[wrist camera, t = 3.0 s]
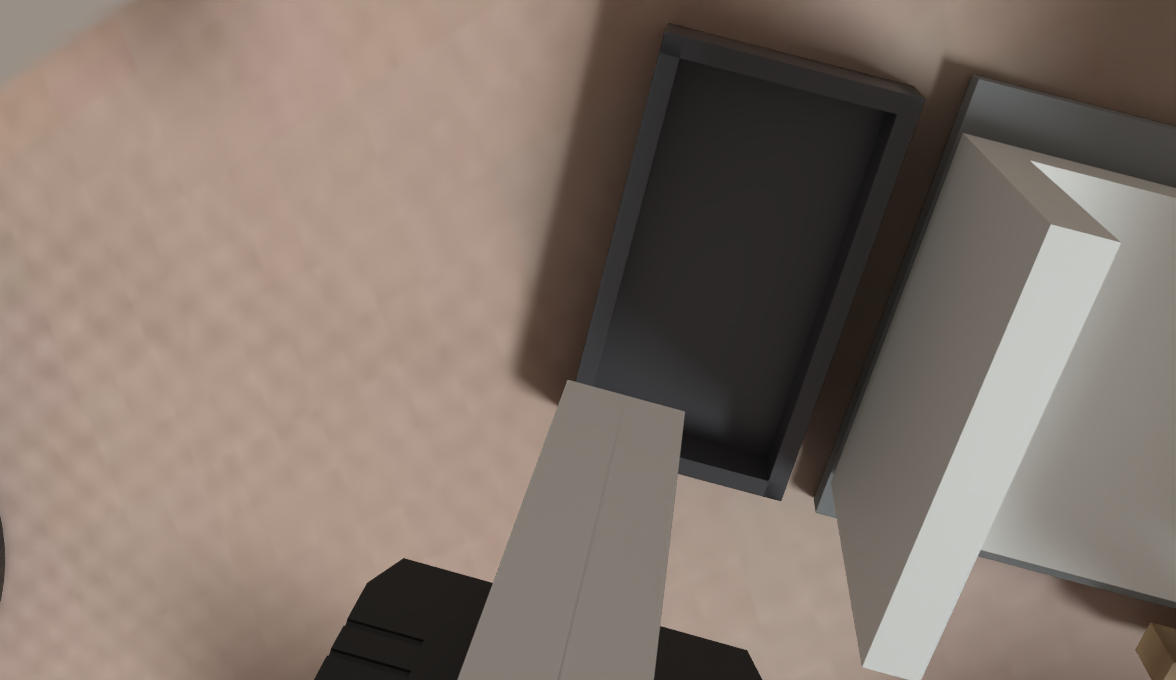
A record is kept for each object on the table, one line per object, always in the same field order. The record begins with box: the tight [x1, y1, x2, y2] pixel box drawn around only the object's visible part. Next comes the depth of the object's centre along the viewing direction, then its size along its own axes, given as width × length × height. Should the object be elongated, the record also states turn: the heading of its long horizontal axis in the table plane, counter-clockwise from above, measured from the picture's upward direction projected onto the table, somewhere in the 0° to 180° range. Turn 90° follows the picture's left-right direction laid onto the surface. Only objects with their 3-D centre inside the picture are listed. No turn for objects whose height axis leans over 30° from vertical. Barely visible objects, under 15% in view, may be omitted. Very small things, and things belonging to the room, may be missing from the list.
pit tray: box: [576, 23, 925, 501], centre depth 23 cm, size 5×9×1 cm, turn 167°
